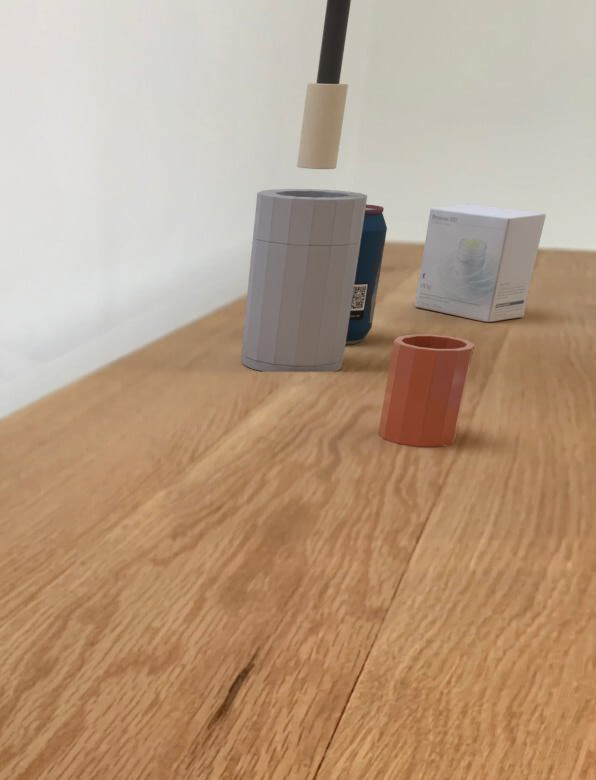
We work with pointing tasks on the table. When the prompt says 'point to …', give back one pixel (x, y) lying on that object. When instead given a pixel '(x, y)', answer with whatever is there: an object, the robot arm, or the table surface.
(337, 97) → the dark grey rod
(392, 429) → the brush pot
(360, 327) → the soda can
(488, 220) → the cosmetics box
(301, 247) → the grey cylindrical canister
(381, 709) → the table surface
